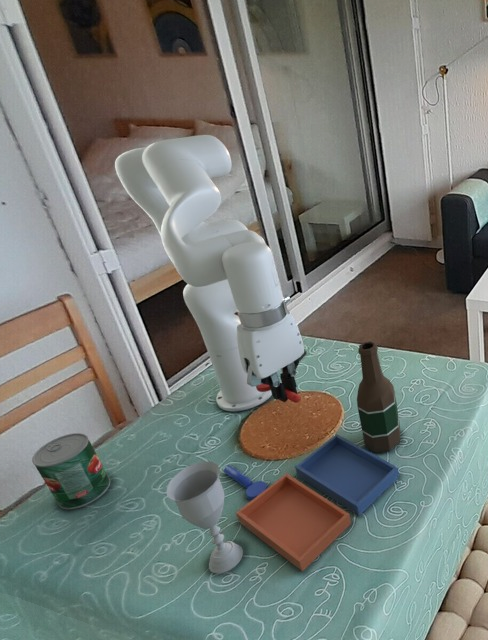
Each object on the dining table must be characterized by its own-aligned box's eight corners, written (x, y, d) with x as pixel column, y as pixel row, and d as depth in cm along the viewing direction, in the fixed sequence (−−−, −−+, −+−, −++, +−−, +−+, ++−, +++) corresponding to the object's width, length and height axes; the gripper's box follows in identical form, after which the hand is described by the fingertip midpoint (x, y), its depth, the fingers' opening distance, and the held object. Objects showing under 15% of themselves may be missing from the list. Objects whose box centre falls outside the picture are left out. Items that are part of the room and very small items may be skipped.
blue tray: (297, 476, 97) (294, 466, 96) (338, 442, 105) (336, 433, 104) (359, 516, 89) (357, 506, 88) (399, 476, 97) (397, 467, 96)
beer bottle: (393, 456, 101) (377, 359, 90) (357, 451, 103) (338, 355, 92) (407, 429, 108) (394, 336, 97) (374, 425, 109) (358, 332, 99)
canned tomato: (120, 481, 97) (98, 438, 92) (77, 514, 90) (51, 470, 85) (92, 471, 99) (69, 428, 94) (48, 503, 92) (20, 459, 87)
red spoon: (307, 397, 95) (306, 391, 94) (291, 408, 92) (289, 402, 92) (269, 378, 100) (267, 372, 100) (252, 388, 98) (250, 382, 97)
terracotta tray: (239, 522, 88) (235, 512, 87) (289, 482, 96) (286, 473, 95) (302, 571, 80) (299, 561, 79) (351, 523, 88) (349, 513, 86)
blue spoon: (218, 477, 97) (216, 471, 96) (235, 464, 100) (233, 459, 99) (254, 503, 92) (252, 497, 91) (272, 489, 94) (270, 484, 94)
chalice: (214, 540, 85) (182, 462, 77) (255, 536, 86) (227, 459, 77) (193, 582, 78) (156, 502, 70) (238, 578, 79) (206, 499, 71)
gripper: (287, 289, 95) (307, 369, 103) (206, 327, 83) (236, 413, 91) (313, 298, 91) (332, 380, 100) (233, 339, 80) (261, 428, 88)
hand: (286, 395), depth 95 cm, fingers closed on red spoon, 1 cm apart
